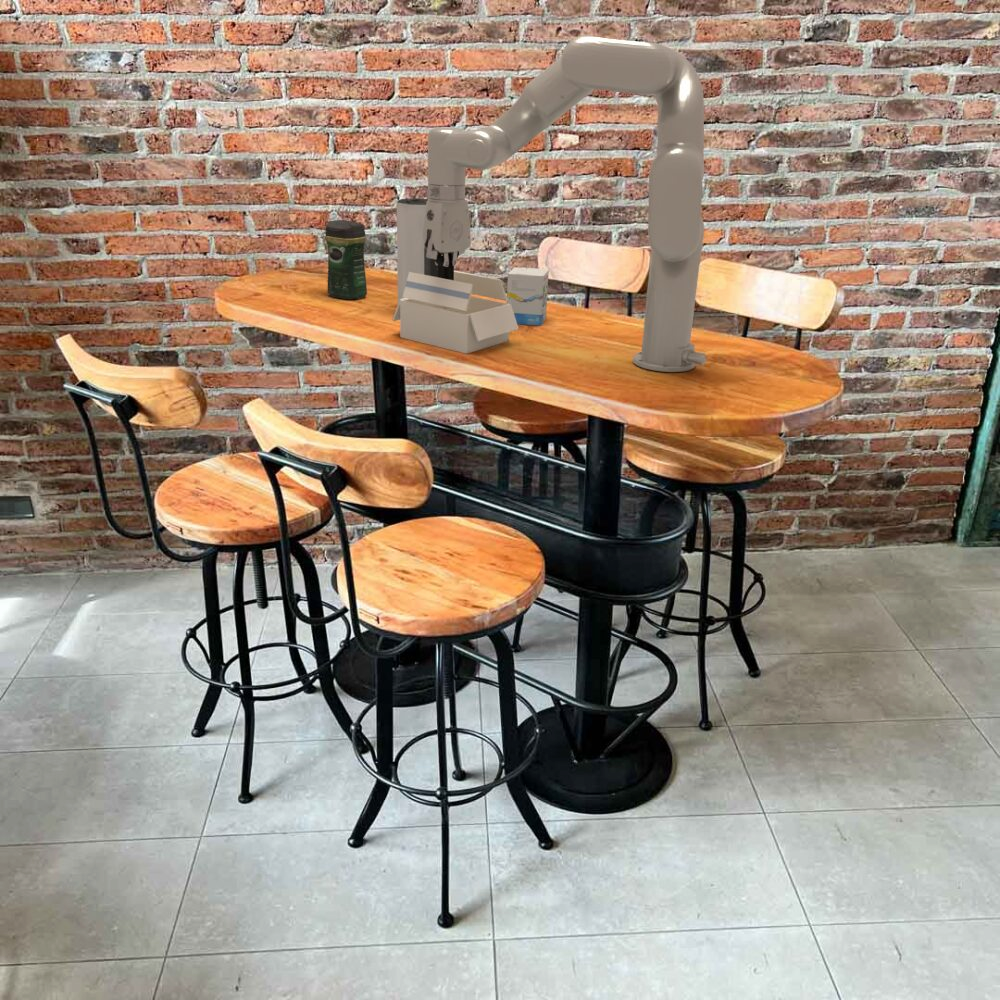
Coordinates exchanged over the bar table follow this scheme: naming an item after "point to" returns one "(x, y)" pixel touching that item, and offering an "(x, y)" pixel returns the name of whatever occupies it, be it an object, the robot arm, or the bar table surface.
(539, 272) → the ink box
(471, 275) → the back flap
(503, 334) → the carton
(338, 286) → the coffee jar
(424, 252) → the speaker
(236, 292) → the bar table surface
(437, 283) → the front flap
